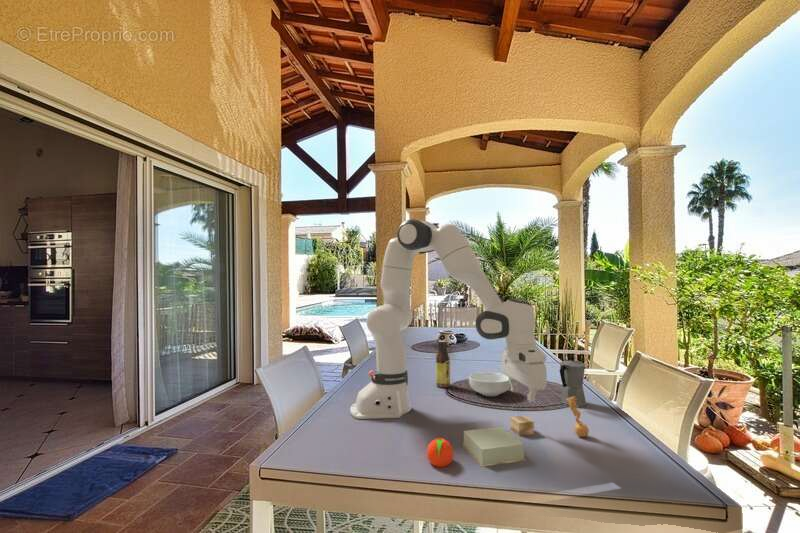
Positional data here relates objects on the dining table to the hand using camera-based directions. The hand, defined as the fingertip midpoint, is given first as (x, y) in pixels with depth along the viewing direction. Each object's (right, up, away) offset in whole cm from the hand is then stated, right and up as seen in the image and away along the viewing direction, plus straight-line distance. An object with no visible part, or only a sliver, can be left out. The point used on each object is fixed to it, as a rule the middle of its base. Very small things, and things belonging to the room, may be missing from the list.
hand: (522, 396), depth 120 cm
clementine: (-28, -12, -19) cm, 36 cm away
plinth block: (-12, -11, -13) cm, 21 cm away
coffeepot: (+27, -12, +27) cm, 40 cm away
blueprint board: (-12, -12, -13) cm, 22 cm away
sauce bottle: (-19, -13, +52) cm, 57 cm away
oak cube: (0, -12, 0) cm, 12 cm away
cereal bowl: (-1, -13, +41) cm, 43 cm away
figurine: (+17, -12, -1) cm, 20 cm away
